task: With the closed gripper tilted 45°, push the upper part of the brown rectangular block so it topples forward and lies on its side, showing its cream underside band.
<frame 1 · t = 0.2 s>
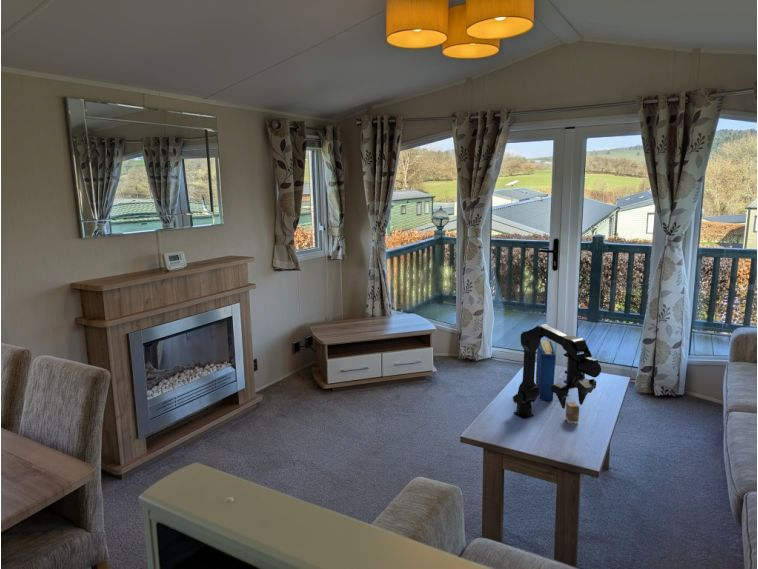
hand: (572, 406, 213), 14 cm above the table, tool pointing down, fingers open, 9 cm apart
brown rectangular block: (571, 421, 232), on the table
book: (544, 394, 263), on the table
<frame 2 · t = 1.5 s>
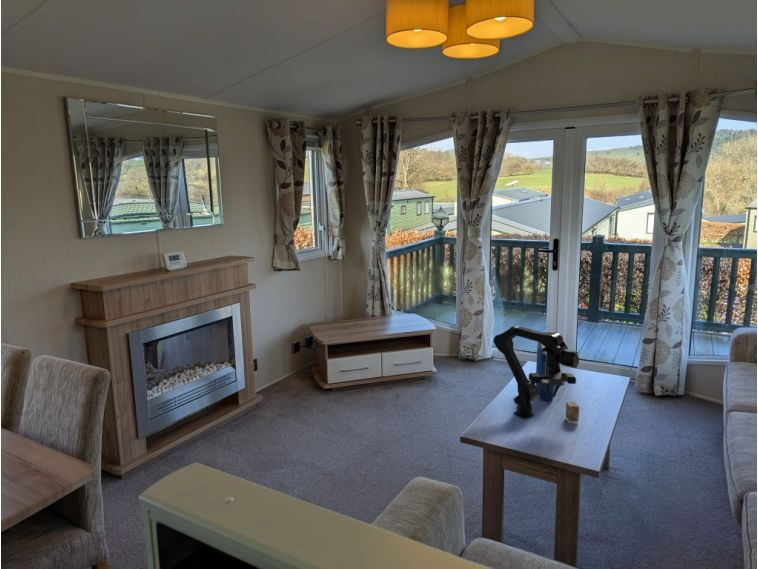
hand: (551, 397, 228), 12 cm above the table, tool pointing down, fingers closed
nothing on the table moved.
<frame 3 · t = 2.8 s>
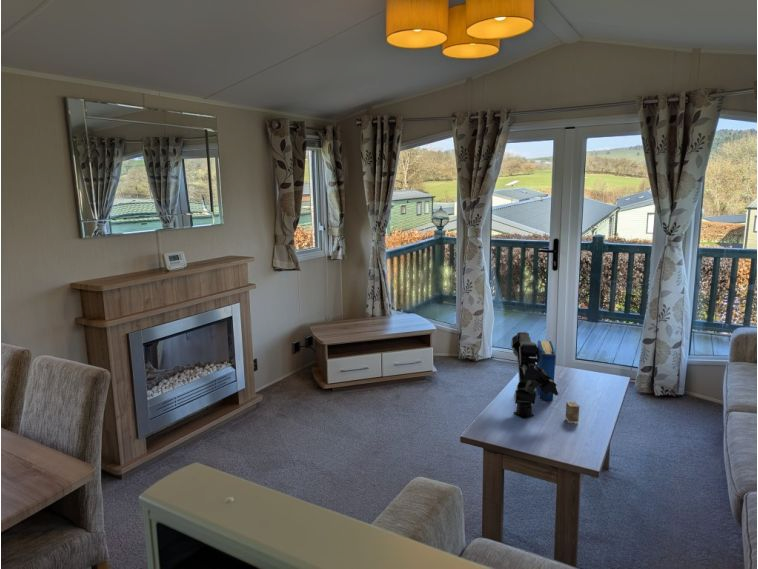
hand: (557, 394, 230), 13 cm above the table, tool tilted 45°, fingers closed
nothing on the table moved.
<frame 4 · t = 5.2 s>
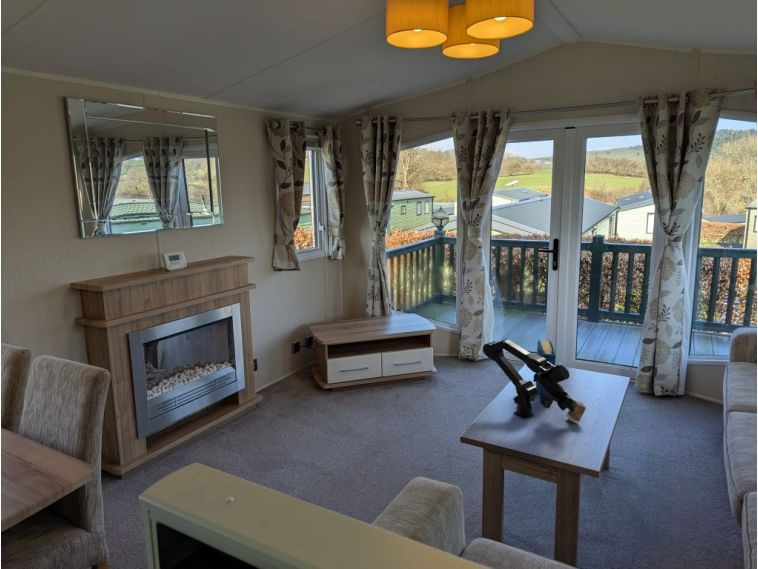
hand: (572, 410, 230), 6 cm above the table, tool tilted 40°, fingers closed
brown rectangular block: (572, 419, 232), point 1 cm above the table, tilted 22°
everything else where it was.
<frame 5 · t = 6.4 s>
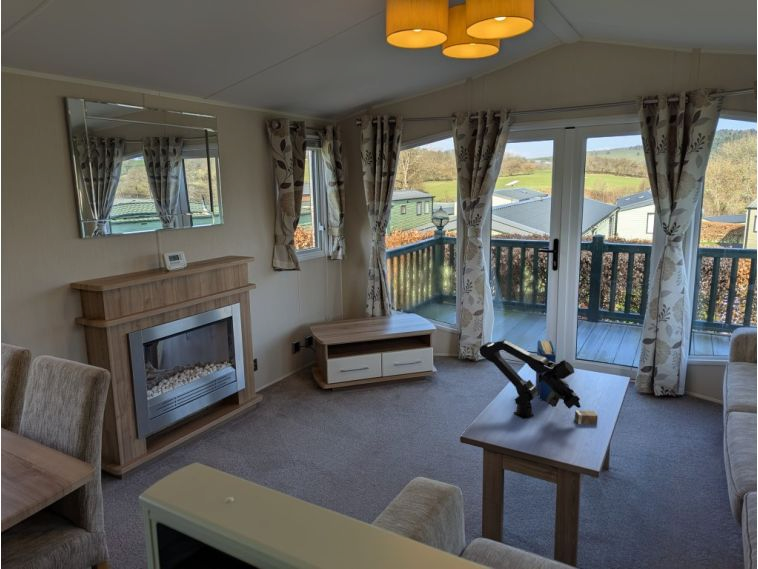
hand: (579, 407, 231), 7 cm above the table, tool tilted 45°, fingers closed
brown rectangular block: (576, 417, 232), point 2 cm above the table, tilted 90°
everything else where it was.
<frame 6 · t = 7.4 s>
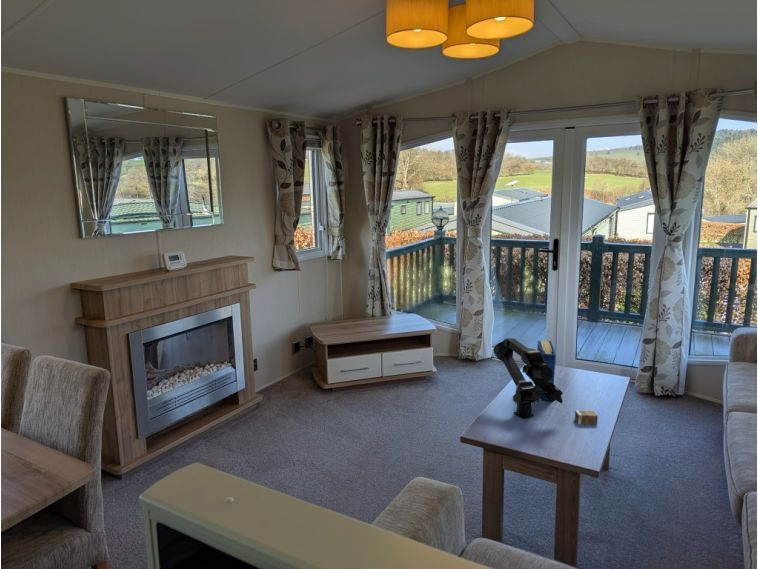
hand: (561, 402, 231), 9 cm above the table, tool tilted 45°, fingers closed
nothing on the table moved.
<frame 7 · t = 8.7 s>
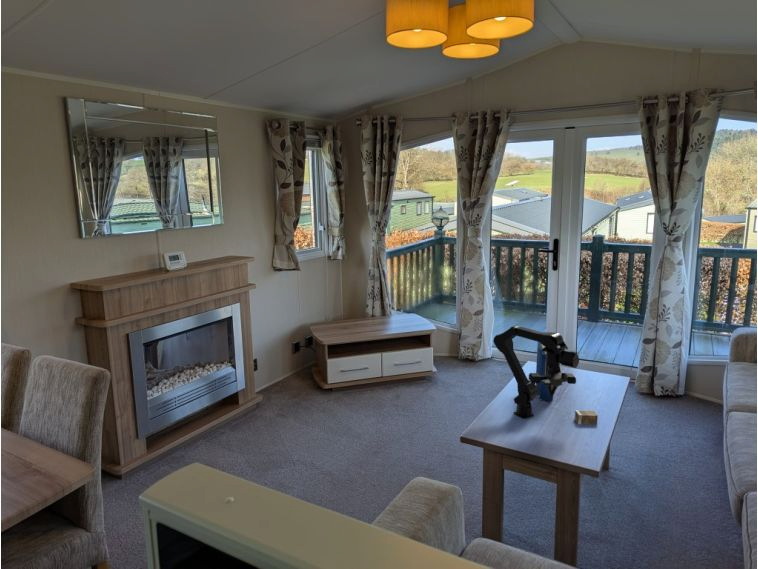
hand: (551, 397, 228), 12 cm above the table, tool pointing down, fingers closed
nothing on the table moved.
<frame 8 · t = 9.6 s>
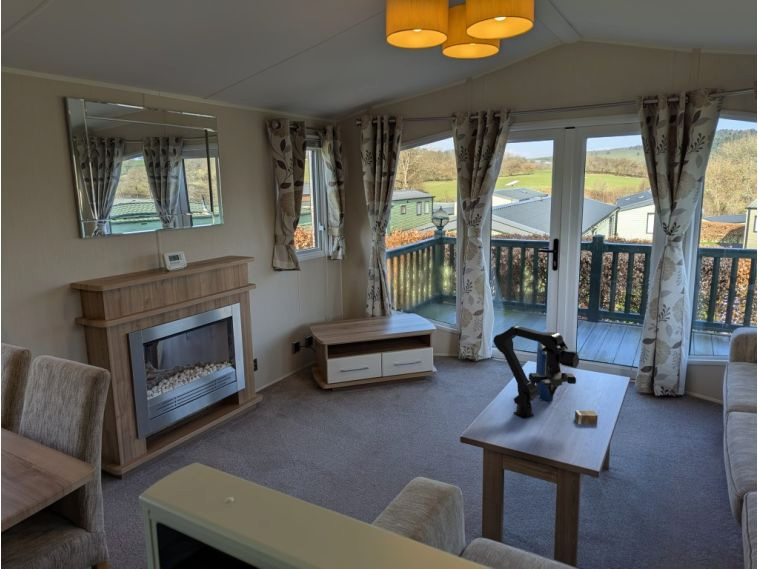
hand: (551, 397, 228), 12 cm above the table, tool pointing down, fingers closed
nothing on the table moved.
at the end: brown rectangular block tilted 90°; brown rectangular block point 2.0 cm above the table; brown rectangular block inside the target area (2.3 cm from its centre), point 2.0 cm above the table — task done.
